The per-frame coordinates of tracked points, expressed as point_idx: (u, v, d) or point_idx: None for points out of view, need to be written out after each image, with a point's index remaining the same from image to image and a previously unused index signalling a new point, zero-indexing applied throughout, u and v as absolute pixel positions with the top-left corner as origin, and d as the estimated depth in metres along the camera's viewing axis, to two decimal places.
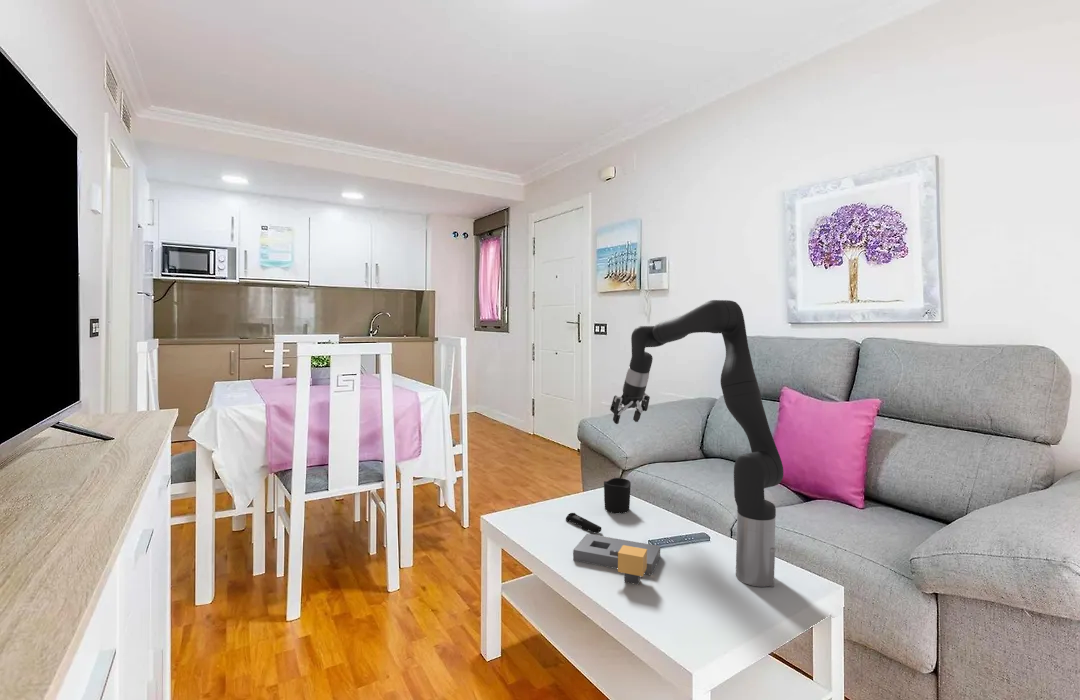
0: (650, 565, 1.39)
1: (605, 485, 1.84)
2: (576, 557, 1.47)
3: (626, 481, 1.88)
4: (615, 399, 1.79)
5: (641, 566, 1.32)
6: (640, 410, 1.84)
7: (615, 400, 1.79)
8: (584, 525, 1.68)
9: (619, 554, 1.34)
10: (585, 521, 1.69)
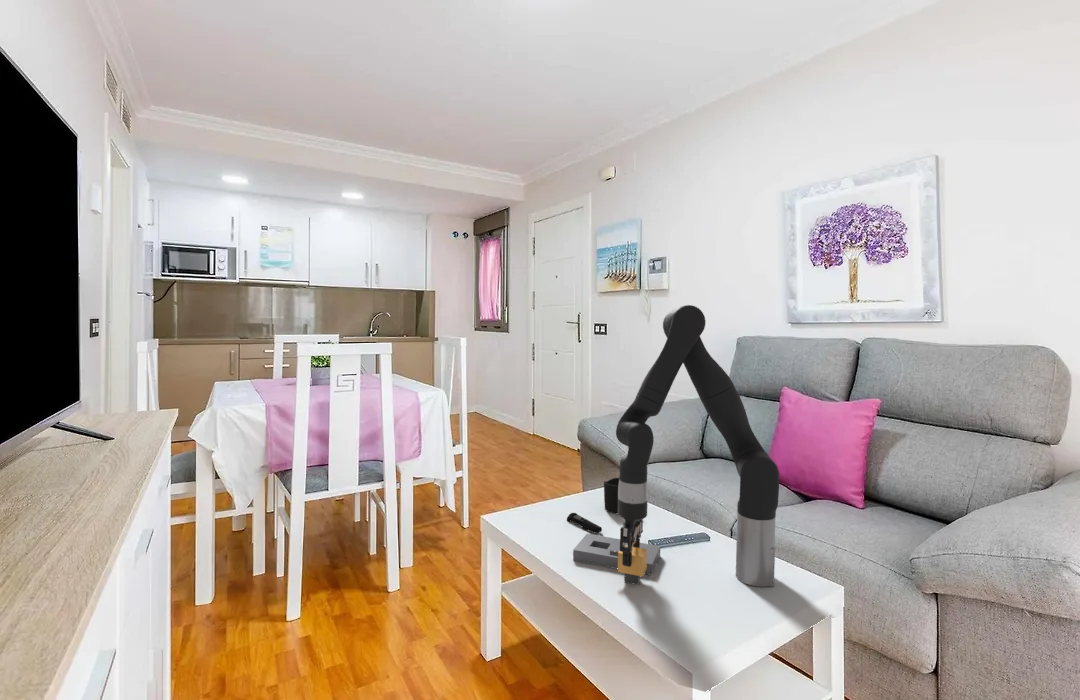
0: (650, 565, 1.39)
1: (605, 485, 1.84)
2: (576, 557, 1.47)
3: None
4: (625, 532, 1.29)
5: (641, 566, 1.32)
6: (640, 534, 1.39)
7: (625, 533, 1.29)
8: (584, 525, 1.68)
9: (619, 554, 1.34)
10: (586, 521, 1.69)
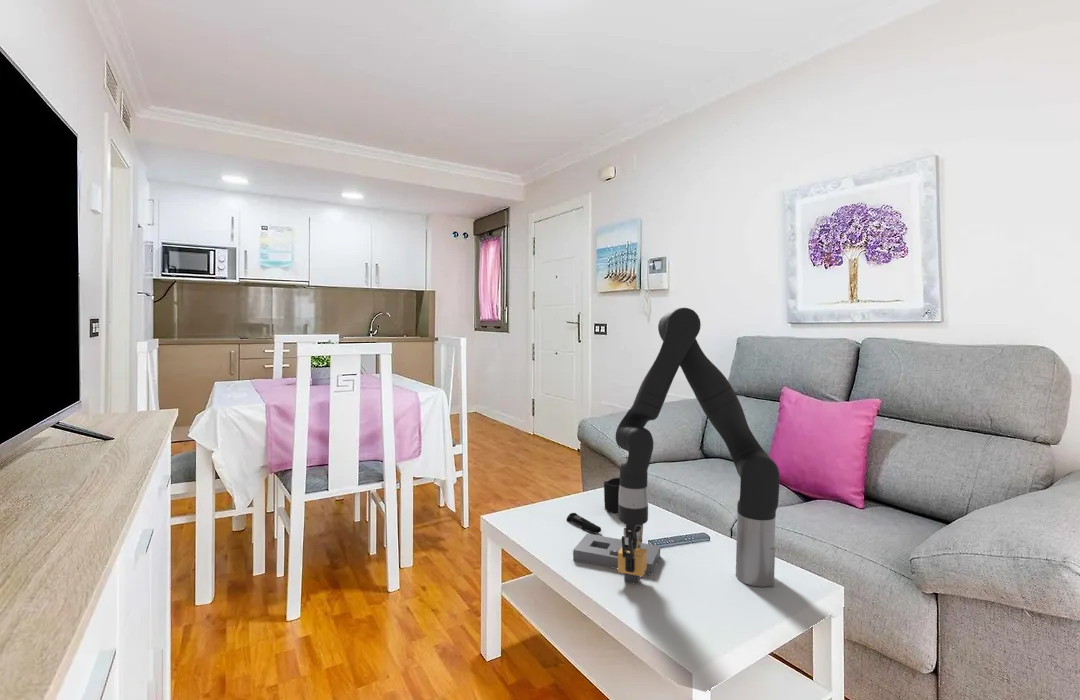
0: (650, 565, 1.39)
1: (605, 485, 1.84)
2: (576, 557, 1.47)
3: None
4: (626, 541, 1.29)
5: (641, 566, 1.32)
6: (639, 544, 1.37)
7: (627, 542, 1.29)
8: (584, 526, 1.68)
9: (619, 554, 1.34)
10: (585, 521, 1.69)
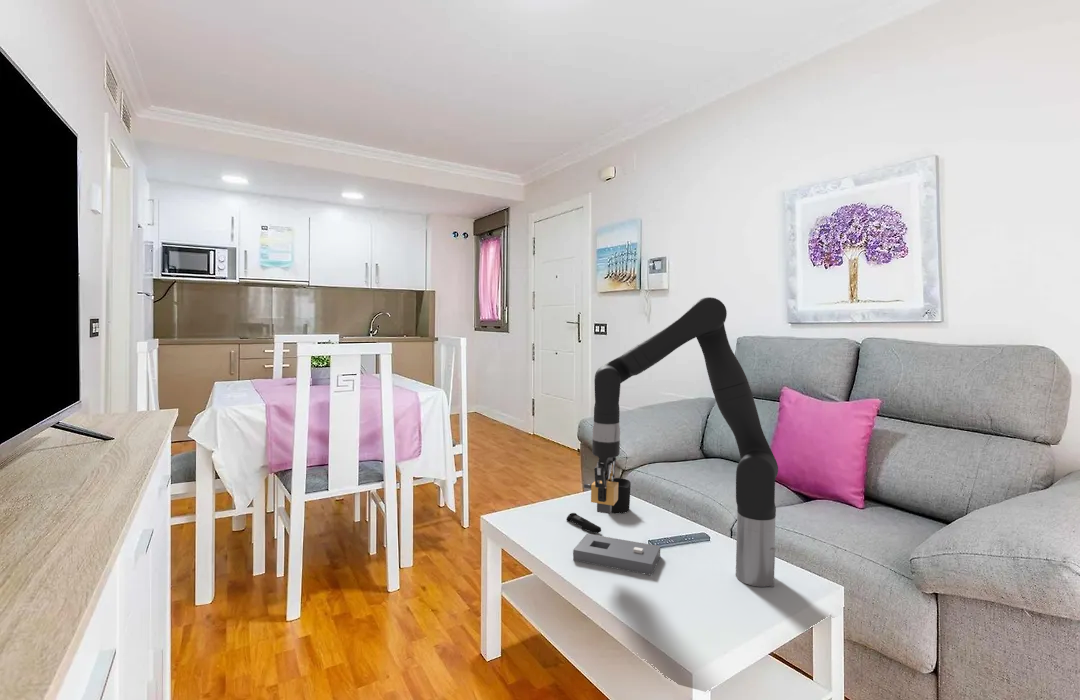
0: (650, 565, 1.39)
1: None
2: (576, 557, 1.47)
3: (626, 481, 1.88)
4: (598, 471, 1.39)
5: (612, 496, 1.43)
6: (612, 478, 1.48)
7: (599, 473, 1.39)
8: (584, 526, 1.68)
9: (593, 486, 1.45)
10: (585, 521, 1.69)
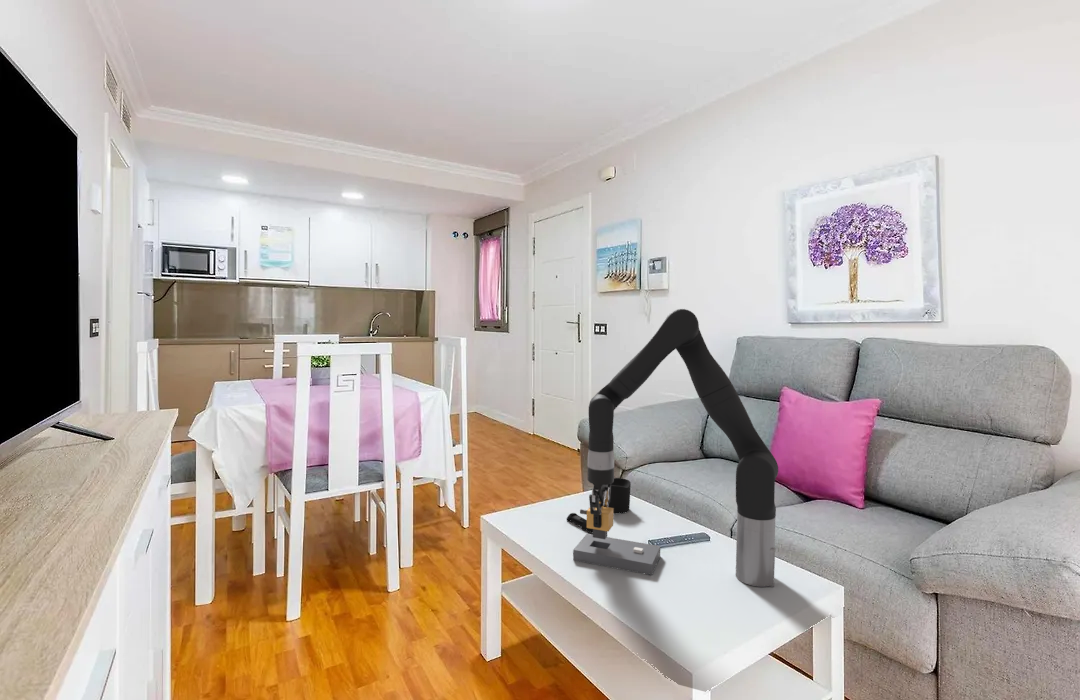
0: (650, 565, 1.39)
1: None
2: (576, 557, 1.47)
3: (626, 481, 1.88)
4: (593, 499, 1.43)
5: (607, 522, 1.46)
6: (607, 504, 1.51)
7: (594, 500, 1.43)
8: (584, 526, 1.68)
9: (588, 512, 1.48)
10: (585, 522, 1.69)
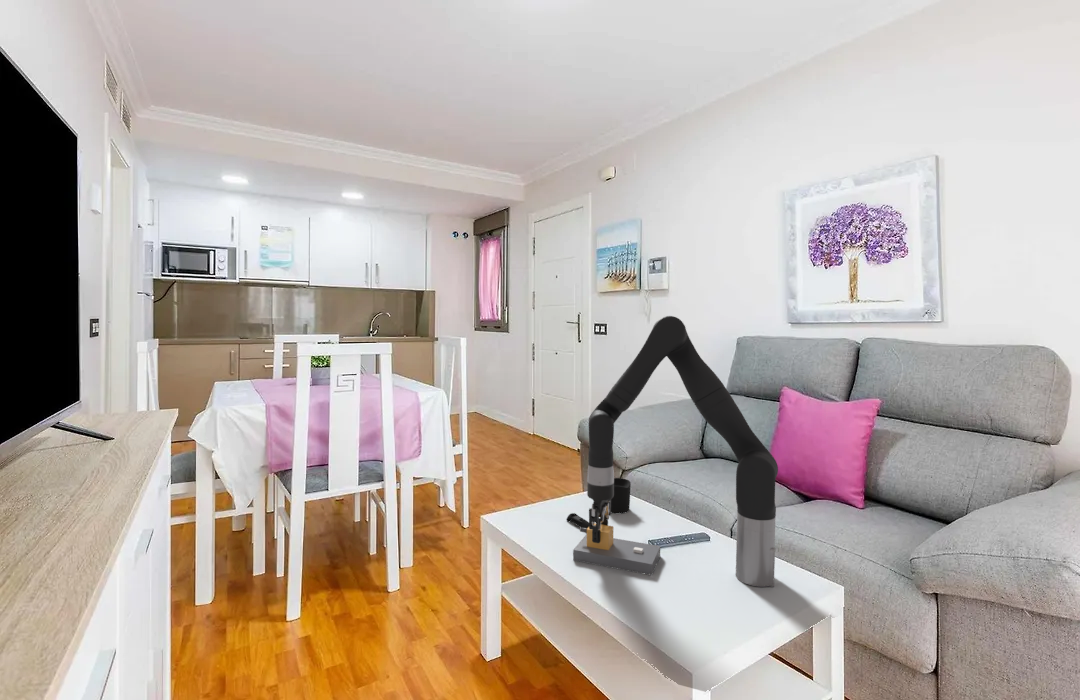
0: (650, 565, 1.39)
1: None
2: (576, 557, 1.47)
3: (626, 481, 1.88)
4: (593, 512, 1.43)
5: (607, 541, 1.47)
6: (608, 516, 1.53)
7: (593, 514, 1.43)
8: (583, 526, 1.68)
9: (588, 531, 1.49)
10: (584, 522, 1.69)
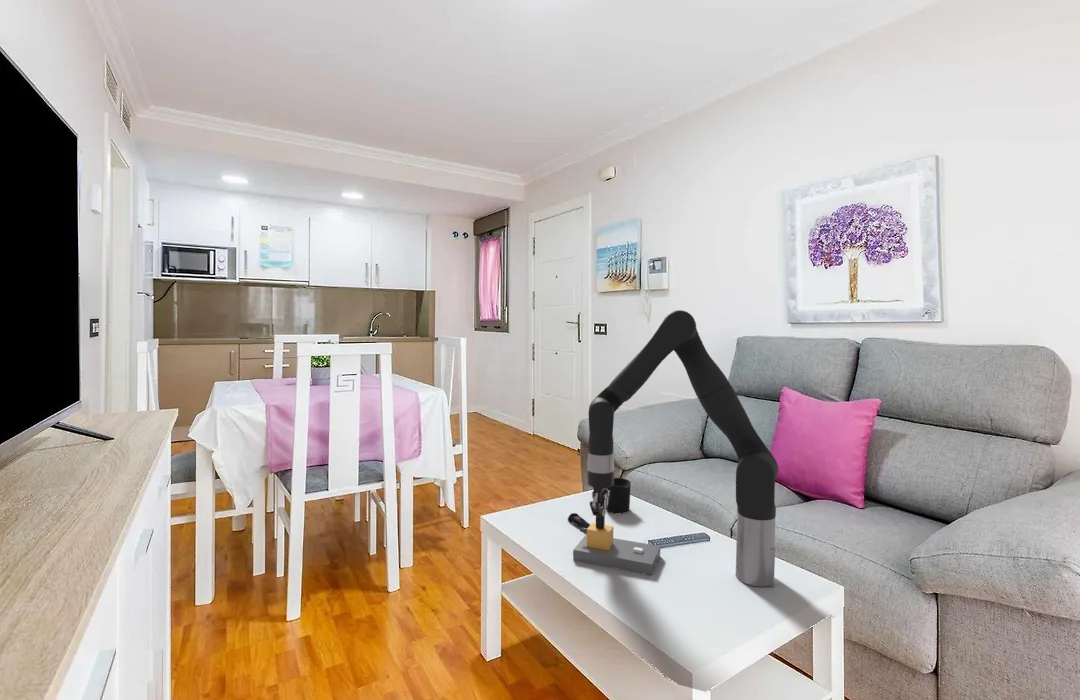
0: (650, 565, 1.39)
1: None
2: (576, 557, 1.47)
3: (626, 481, 1.88)
4: (594, 506, 1.44)
5: (607, 541, 1.47)
6: (604, 511, 1.49)
7: (594, 507, 1.44)
8: (581, 526, 1.68)
9: (588, 531, 1.49)
10: (583, 522, 1.68)
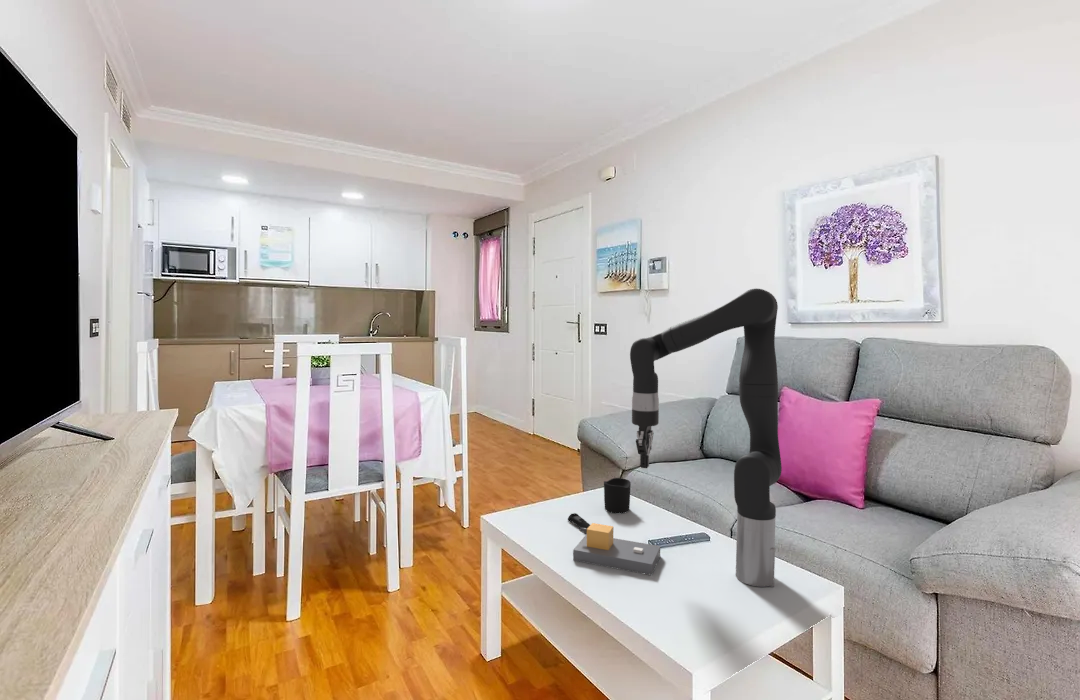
0: (650, 565, 1.39)
1: (605, 485, 1.84)
2: (576, 557, 1.47)
3: (626, 481, 1.88)
4: (640, 443, 1.45)
5: (607, 541, 1.47)
6: (649, 450, 1.50)
7: (641, 444, 1.45)
8: (581, 526, 1.67)
9: (588, 531, 1.49)
10: (583, 522, 1.68)
